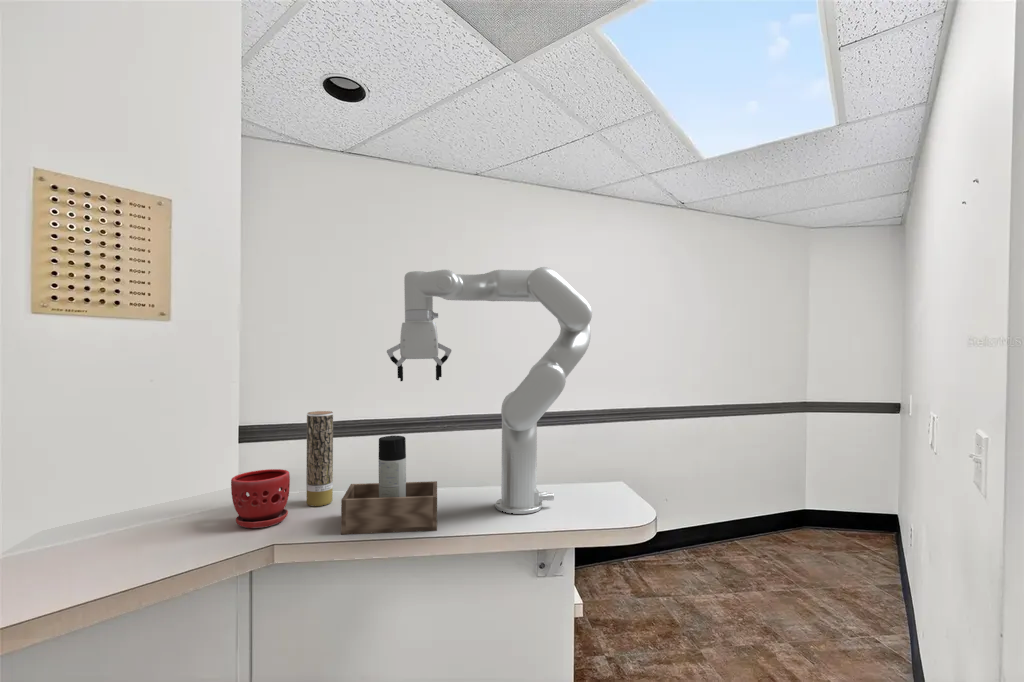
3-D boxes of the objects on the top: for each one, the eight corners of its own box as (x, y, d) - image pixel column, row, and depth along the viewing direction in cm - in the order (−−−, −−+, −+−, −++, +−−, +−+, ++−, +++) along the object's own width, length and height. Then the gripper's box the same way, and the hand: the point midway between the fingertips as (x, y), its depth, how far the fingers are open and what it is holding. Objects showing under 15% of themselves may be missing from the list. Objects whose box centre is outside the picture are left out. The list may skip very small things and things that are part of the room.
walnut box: (436, 511, 141) (437, 481, 141) (436, 530, 127) (437, 496, 127) (350, 514, 137) (350, 483, 137) (341, 534, 124) (341, 500, 124)
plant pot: (293, 512, 139) (293, 466, 139) (284, 529, 127) (284, 479, 127) (238, 515, 136) (239, 469, 136) (224, 534, 124) (224, 482, 124)
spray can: (412, 517, 133) (411, 437, 132) (389, 524, 127) (388, 441, 127) (395, 511, 137) (395, 434, 137) (373, 518, 132) (372, 437, 132)
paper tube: (336, 500, 150) (337, 411, 150) (325, 507, 143) (326, 414, 143) (313, 499, 151) (314, 410, 151) (301, 506, 144) (302, 414, 144)
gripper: (449, 317, 150) (450, 378, 150) (386, 318, 147) (387, 380, 147) (452, 316, 143) (452, 380, 143) (385, 317, 139) (386, 382, 139)
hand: (419, 380), depth 145 cm, fingers open, 9 cm apart
